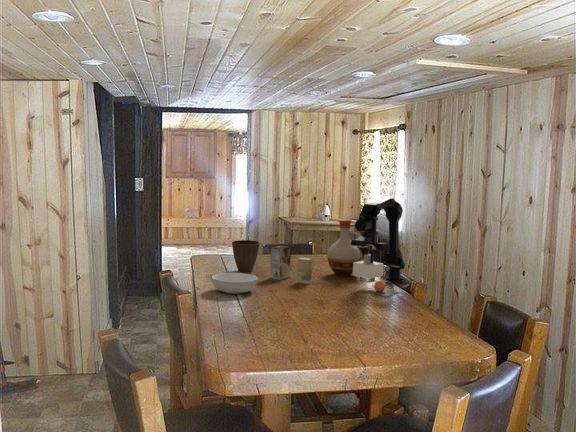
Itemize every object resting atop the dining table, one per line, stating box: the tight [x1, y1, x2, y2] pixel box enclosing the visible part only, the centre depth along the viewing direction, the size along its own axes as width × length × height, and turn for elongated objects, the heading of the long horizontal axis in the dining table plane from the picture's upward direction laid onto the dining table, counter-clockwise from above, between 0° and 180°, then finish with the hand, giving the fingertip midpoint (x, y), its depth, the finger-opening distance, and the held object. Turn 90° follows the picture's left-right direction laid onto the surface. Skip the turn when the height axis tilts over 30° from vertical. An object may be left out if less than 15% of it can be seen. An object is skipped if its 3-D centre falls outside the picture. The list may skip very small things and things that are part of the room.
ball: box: [373, 281, 386, 292], centre depth 254 cm, size 5×5×5 cm
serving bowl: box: [211, 272, 259, 295], centre depth 246 cm, size 21×21×7 cm
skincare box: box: [296, 257, 313, 285], centre depth 269 cm, size 6×4×12 cm
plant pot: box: [231, 239, 260, 274], centre depth 292 cm, size 15×15×16 cm
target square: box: [364, 288, 401, 298], centre depth 254 cm, size 12×12×1 cm
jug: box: [326, 219, 362, 278], centre depth 289 cm, size 20×18×30 cm
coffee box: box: [269, 245, 292, 281], centre depth 279 cm, size 9×6×16 cm
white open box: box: [352, 253, 384, 280], centre depth 258 cm, size 10×10×10 cm
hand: (368, 262), depth 258 cm, fingers closed on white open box, 3 cm apart
